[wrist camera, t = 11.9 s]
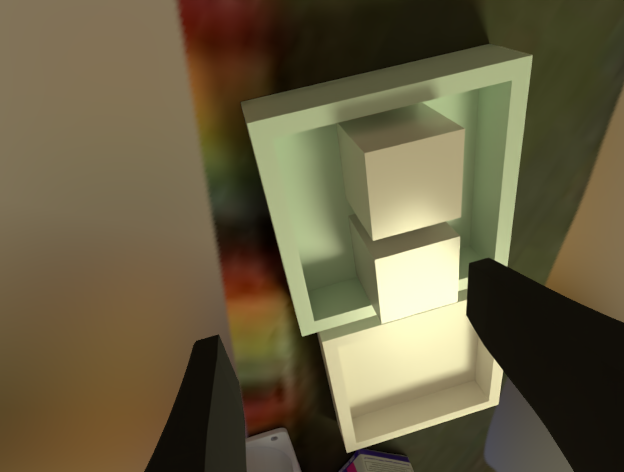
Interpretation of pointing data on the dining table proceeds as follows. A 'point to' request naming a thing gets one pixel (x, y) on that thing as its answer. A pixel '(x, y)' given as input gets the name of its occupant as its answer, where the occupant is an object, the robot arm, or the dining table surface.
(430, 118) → the ivory sharp-edged cube
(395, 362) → the tray
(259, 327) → the dining table surface
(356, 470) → the supplement box
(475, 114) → the tub
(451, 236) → the cream cube block
